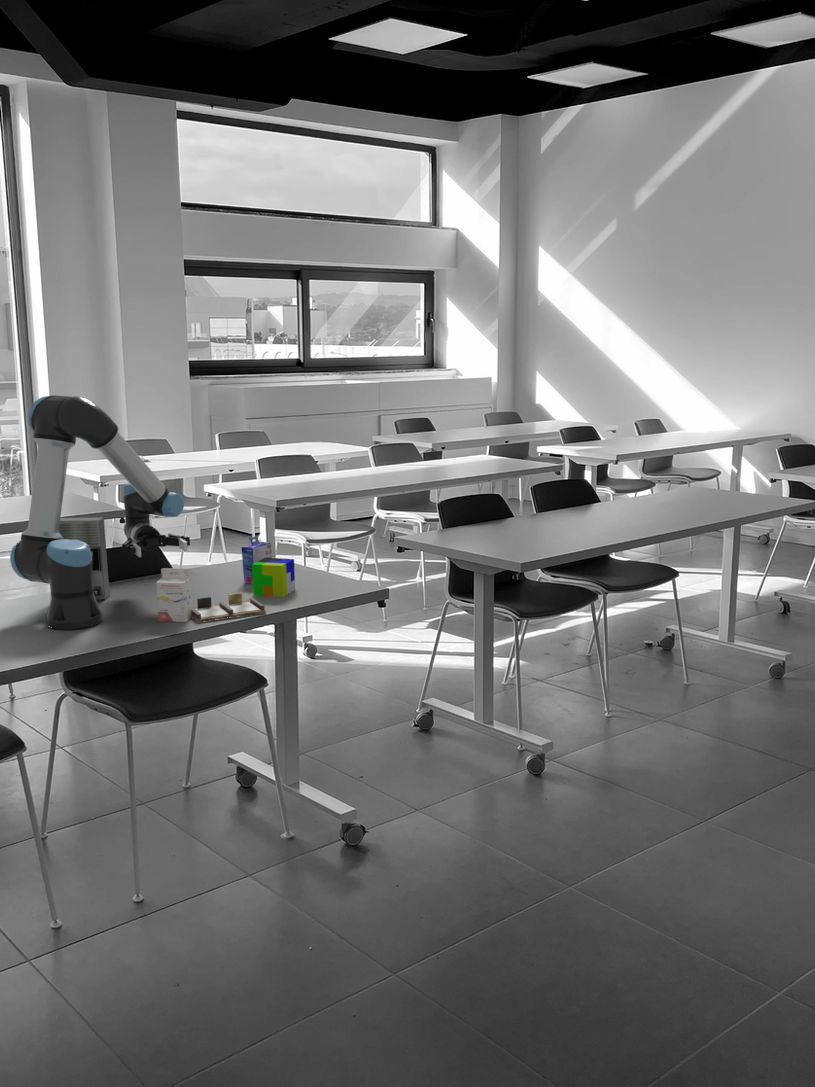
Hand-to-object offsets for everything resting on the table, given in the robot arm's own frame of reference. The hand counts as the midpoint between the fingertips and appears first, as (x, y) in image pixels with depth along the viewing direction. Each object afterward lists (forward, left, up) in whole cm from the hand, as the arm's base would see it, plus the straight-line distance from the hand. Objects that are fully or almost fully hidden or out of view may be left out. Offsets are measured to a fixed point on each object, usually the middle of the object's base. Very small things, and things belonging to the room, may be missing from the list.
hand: (163, 549), depth 309 cm
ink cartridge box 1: (0, -10, -19) cm, 21 cm away
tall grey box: (-18, +29, -19) cm, 39 cm away
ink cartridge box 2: (+37, +24, -19) cm, 48 cm away
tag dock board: (+15, -10, -19) cm, 26 cm away
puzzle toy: (+36, +6, -19) cm, 41 cm away
